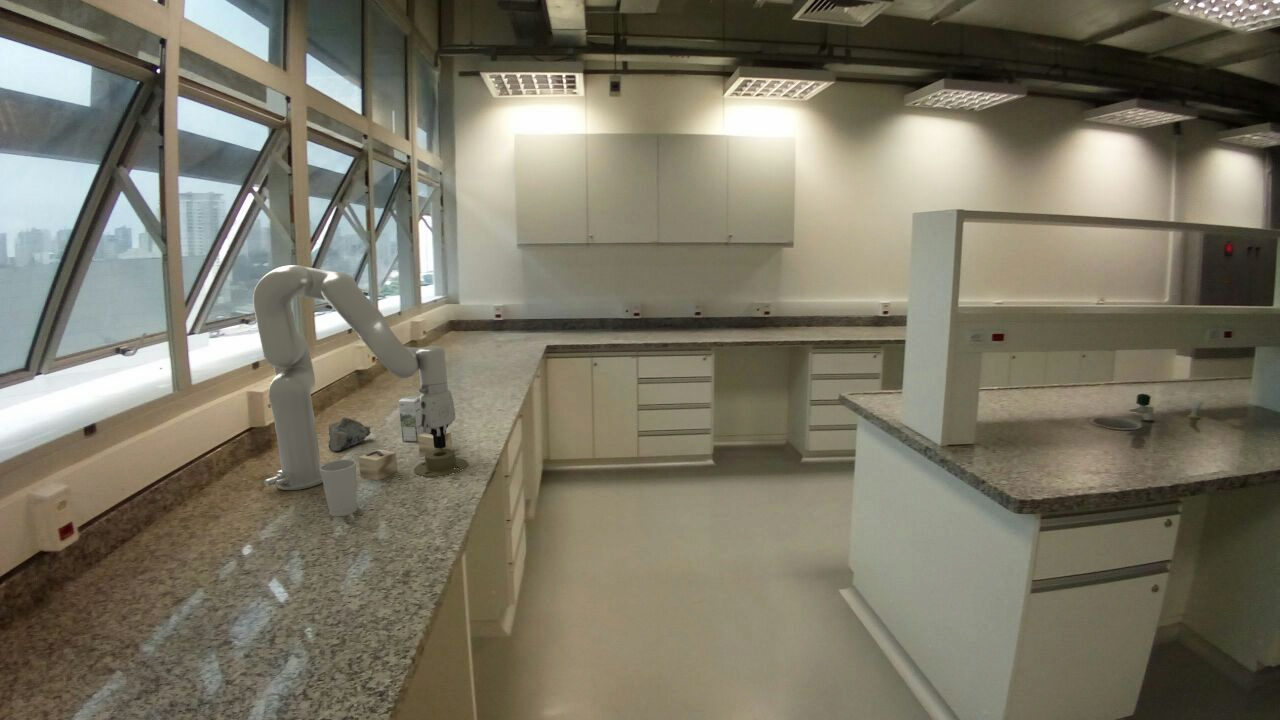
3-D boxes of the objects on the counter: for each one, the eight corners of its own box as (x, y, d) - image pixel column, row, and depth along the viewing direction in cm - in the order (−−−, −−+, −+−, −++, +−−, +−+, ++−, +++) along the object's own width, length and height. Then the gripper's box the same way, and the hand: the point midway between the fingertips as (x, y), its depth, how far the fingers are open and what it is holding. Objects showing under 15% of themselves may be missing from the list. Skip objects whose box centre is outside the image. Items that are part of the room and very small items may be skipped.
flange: (476, 448, 178) (435, 443, 183) (444, 465, 164) (401, 459, 169) (477, 462, 178) (437, 457, 184) (445, 481, 165) (402, 475, 170)
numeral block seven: (378, 480, 165) (375, 459, 164) (360, 476, 168) (358, 456, 167) (398, 471, 172) (395, 451, 170) (380, 468, 175) (378, 448, 173)
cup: (366, 503, 150) (361, 458, 148) (352, 517, 142) (347, 470, 140) (334, 504, 150) (329, 459, 148) (319, 518, 142) (313, 471, 140)
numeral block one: (436, 456, 183) (434, 437, 182) (419, 453, 187) (417, 434, 185) (452, 449, 190) (450, 431, 188) (436, 446, 193) (434, 428, 191)
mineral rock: (371, 438, 203) (368, 410, 201) (373, 447, 193) (370, 418, 191) (329, 444, 197) (325, 415, 195) (329, 454, 187) (325, 424, 185)
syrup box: (426, 436, 203) (422, 396, 200) (418, 442, 197) (414, 400, 194) (410, 436, 203) (406, 395, 201) (401, 442, 198) (397, 400, 195)
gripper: (424, 395, 165) (430, 457, 169) (462, 383, 178) (466, 441, 182) (405, 392, 169) (411, 453, 172) (443, 381, 182) (448, 438, 185)
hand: (440, 447), depth 177 cm, fingers closed
